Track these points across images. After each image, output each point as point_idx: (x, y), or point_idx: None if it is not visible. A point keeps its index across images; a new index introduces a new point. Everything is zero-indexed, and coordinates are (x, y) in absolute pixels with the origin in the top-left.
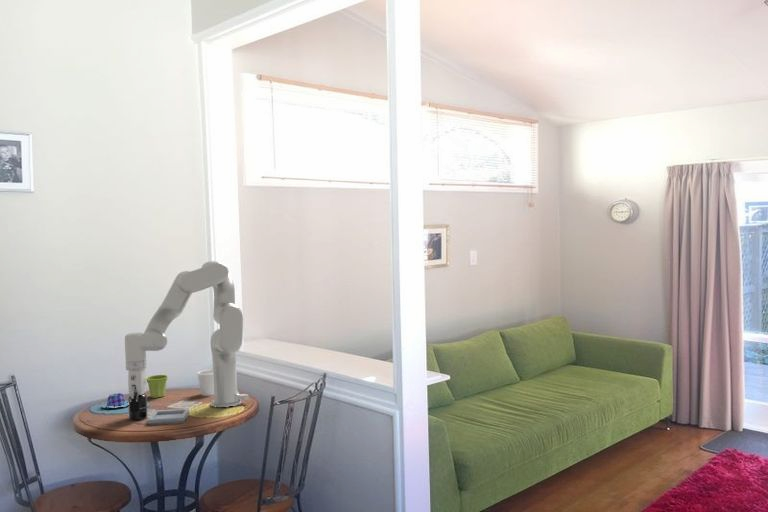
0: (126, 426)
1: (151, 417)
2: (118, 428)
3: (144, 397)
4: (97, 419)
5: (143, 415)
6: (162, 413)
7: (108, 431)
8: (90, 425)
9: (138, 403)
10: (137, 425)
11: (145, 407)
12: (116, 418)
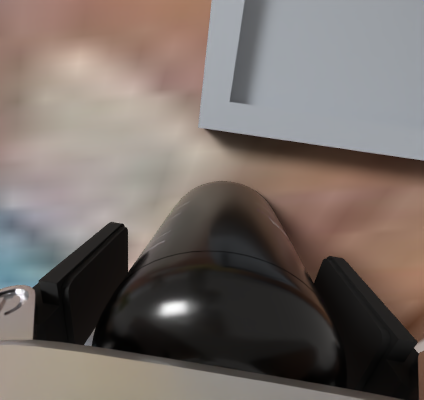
0: (376, 276)
1: (419, 143)
2: (393, 307)
3: (302, 296)
4: None
5: (270, 207)
6: (236, 61)
7: (420, 341)
8: None
9: (391, 318)
10: (395, 224)
11: (262, 215)
12: None
